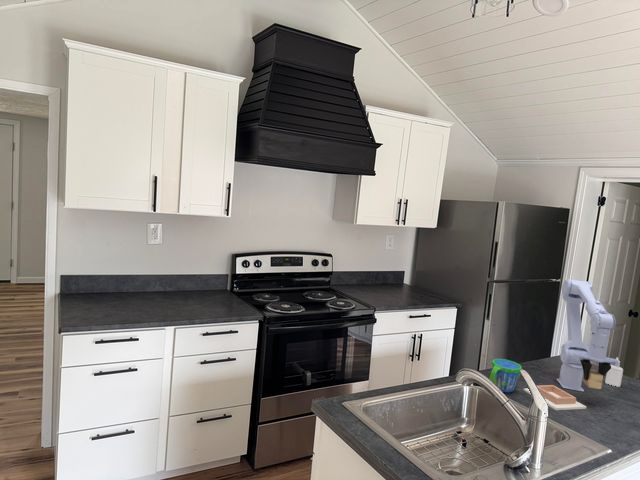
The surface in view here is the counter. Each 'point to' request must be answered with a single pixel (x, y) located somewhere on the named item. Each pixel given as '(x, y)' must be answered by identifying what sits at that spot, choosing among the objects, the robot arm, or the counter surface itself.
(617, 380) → the eye dropper bottle
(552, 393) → the tray
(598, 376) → the oak key block
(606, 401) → the counter surface
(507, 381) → the snack cup
